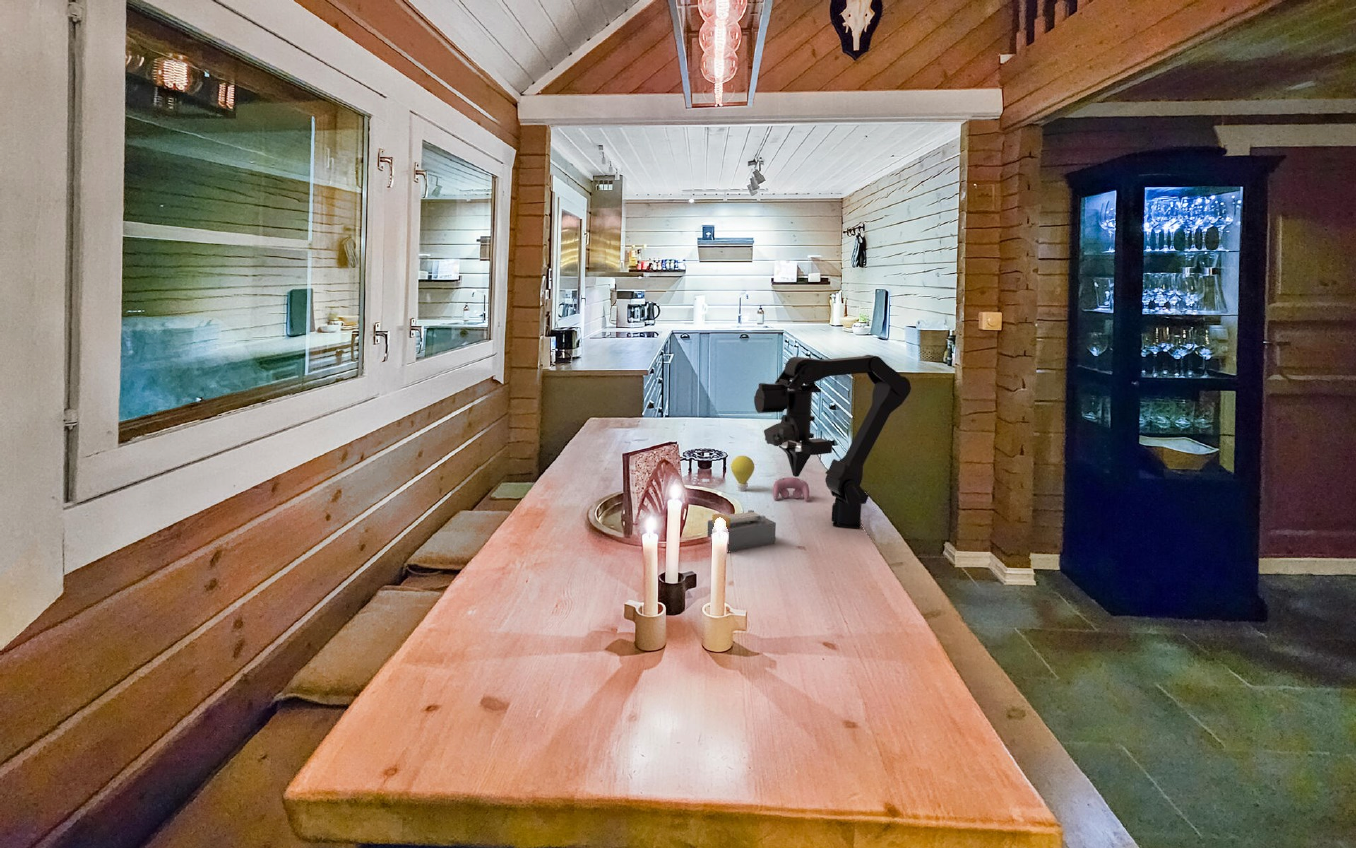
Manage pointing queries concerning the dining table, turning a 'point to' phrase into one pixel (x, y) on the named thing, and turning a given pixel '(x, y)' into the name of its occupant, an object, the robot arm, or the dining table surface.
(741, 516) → the light grey flat bar
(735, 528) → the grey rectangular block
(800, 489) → the pink curved piece
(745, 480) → the light bulb
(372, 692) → the dining table surface
